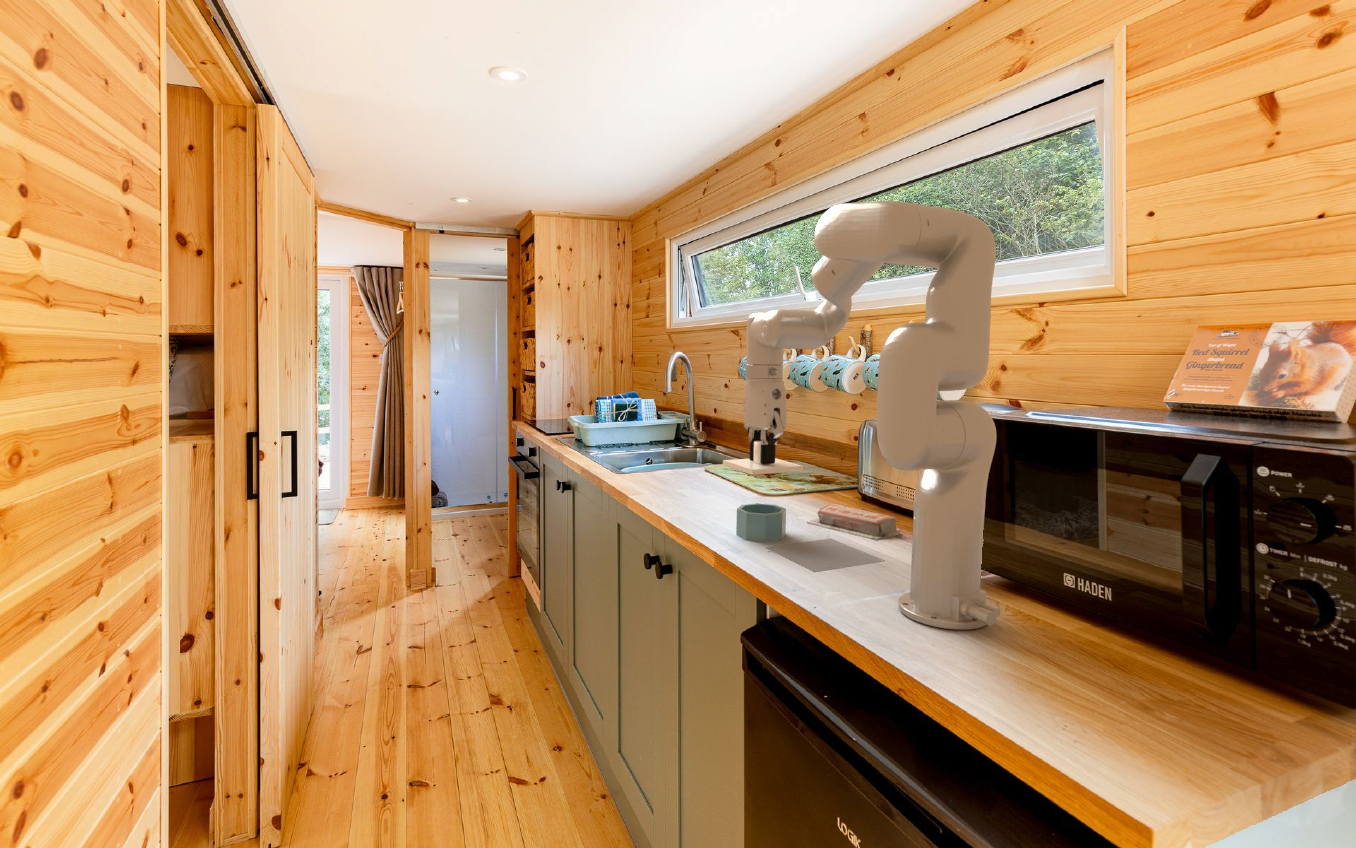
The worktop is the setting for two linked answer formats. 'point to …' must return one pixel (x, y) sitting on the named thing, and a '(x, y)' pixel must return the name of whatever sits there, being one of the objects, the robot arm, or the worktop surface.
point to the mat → (824, 555)
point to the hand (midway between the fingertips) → (762, 461)
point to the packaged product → (856, 522)
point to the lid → (759, 468)
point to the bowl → (761, 522)
